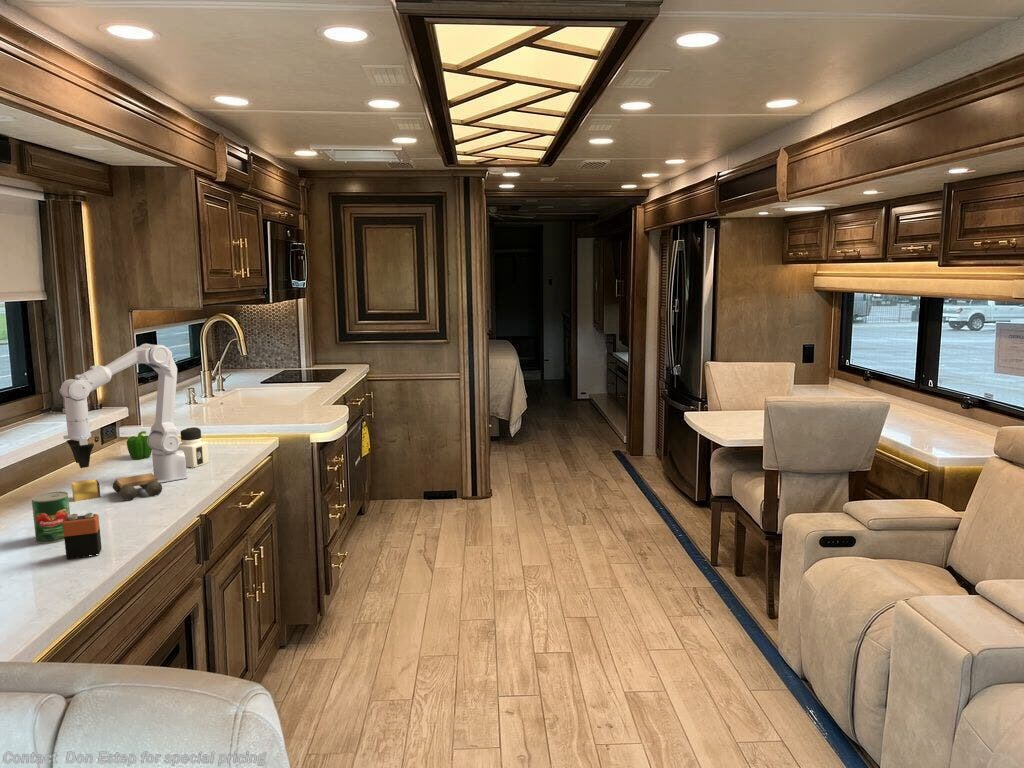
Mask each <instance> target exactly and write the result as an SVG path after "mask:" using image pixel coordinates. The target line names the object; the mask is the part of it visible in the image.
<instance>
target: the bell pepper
mask: <svg viewBox="0 0 1024 768" xmlns="http://www.w3.org/2000/svg"><path fill="white" fill-rule="evenodd" d="M143 434H144V435H143ZM146 434H147V430H146V431H145V430H141V431H140V432H138V434H137V436H134V435H132V436H130V437H129V438H127V440H126V446H127V447H126V448H127V451H128V453H129V456H130V458H131V459H132V460H142V459H147V458H150V457H151V456H152V448H150V447H149V446H148V443H147V438H148V436H149V435H146Z"/></svg>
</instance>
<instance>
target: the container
mask: <svg viewBox="0 0 1024 768" xmlns="http://www.w3.org/2000/svg"><path fill="white" fill-rule="evenodd" d="M179 432H180V433H179V434H180V445H179V447H178V449H177V451H179V450H182V451H183V452H184V455H185V460H186V468H189V467H191V468H190V469H194V467H195V468H197V466H198V467H201V466H204V465H207V464H210V455H209V454H210V453H209V442H208V441H204V440H203V441H202V430H201V428H200V427H186V428H185V427H184V428H182V429H181V430H180V431H179Z"/></svg>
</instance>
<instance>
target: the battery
mask: <svg viewBox="0 0 1024 768" xmlns="http://www.w3.org/2000/svg"><path fill="white" fill-rule="evenodd" d="M63 530H64V540H63V541H64V546H65V547H64V548H65V557H66V559H67V560H72V559H71V558H75V559H78V558H77V557H82V558H84V557H83V556H89V555H96V554H99V555H100V553H101V551H102V538H101V528H100V517H99V514H97V513H93V512H87V513H85V514H83V515H79V514H78V513H70V515H68V516H67V518H66V519H65V521H64V522H63Z"/></svg>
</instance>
